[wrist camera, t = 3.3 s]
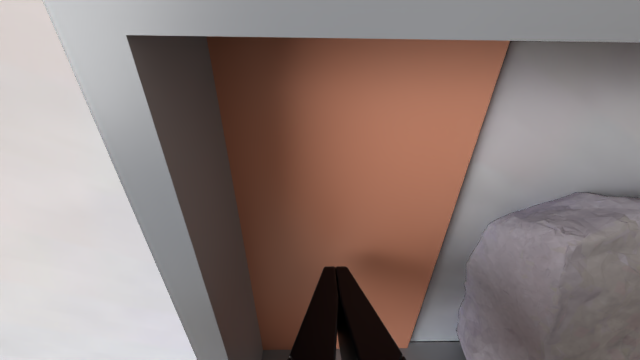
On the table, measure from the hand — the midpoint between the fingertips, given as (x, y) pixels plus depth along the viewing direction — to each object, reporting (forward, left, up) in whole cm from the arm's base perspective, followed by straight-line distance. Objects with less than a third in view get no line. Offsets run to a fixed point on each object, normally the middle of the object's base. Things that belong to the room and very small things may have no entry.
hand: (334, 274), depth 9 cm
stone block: (-2, -12, -2) cm, 12 cm away
